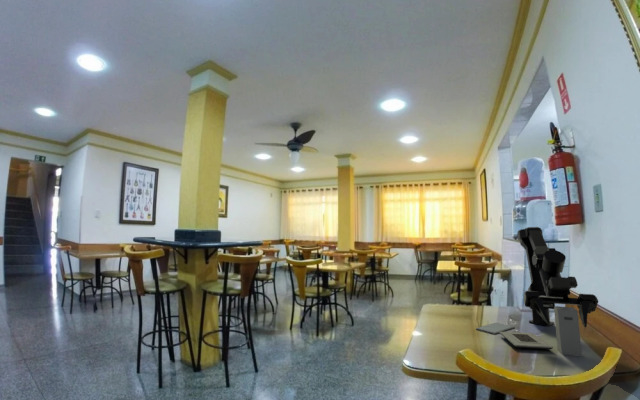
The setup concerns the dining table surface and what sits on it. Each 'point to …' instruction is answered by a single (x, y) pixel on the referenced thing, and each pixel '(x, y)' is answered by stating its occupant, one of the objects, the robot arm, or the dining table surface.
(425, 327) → the dining table surface
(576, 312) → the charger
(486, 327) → the plate
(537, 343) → the electrical outlet
